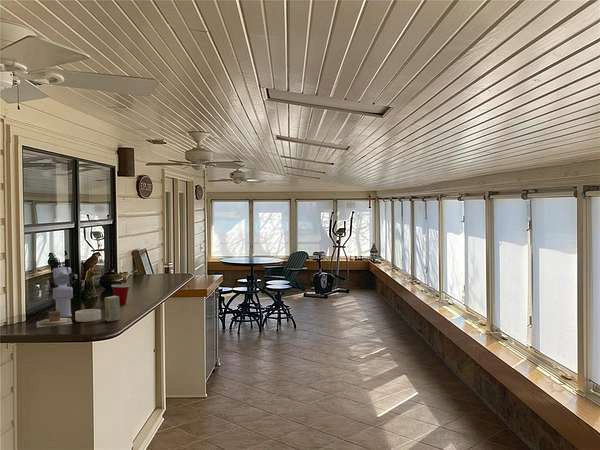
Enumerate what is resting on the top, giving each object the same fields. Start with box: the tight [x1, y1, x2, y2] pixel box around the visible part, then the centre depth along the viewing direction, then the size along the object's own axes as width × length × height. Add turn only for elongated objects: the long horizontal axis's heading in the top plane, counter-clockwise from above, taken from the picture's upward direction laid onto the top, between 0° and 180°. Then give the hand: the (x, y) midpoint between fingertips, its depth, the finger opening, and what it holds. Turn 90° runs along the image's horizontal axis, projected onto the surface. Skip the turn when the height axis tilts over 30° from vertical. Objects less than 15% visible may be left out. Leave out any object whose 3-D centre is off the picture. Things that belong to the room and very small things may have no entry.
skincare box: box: [104, 295, 121, 322], centre depth 271 cm, size 6×4×12 cm
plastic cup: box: [111, 284, 131, 306], centre depth 318 cm, size 11×11×12 cm
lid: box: [39, 310, 70, 326], centre depth 266 cm, size 14×14×6 cm
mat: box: [36, 317, 73, 328], centre depth 266 cm, size 16×16×1 cm
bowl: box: [74, 308, 102, 323], centre depth 273 cm, size 12×12×4 cm
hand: (62, 284), depth 265 cm, fingers open, 7 cm apart
